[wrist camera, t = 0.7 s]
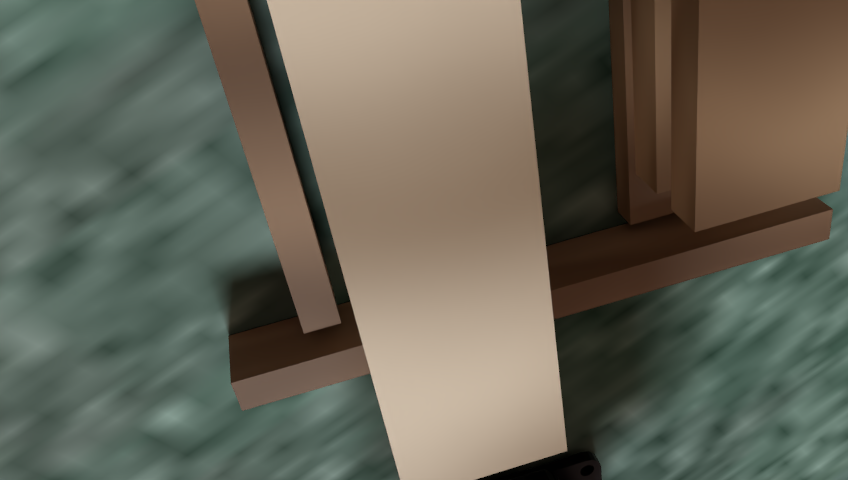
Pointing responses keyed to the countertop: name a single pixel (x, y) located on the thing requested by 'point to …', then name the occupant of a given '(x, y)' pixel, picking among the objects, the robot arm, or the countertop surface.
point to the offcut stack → (727, 105)
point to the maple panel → (435, 220)
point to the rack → (335, 324)
